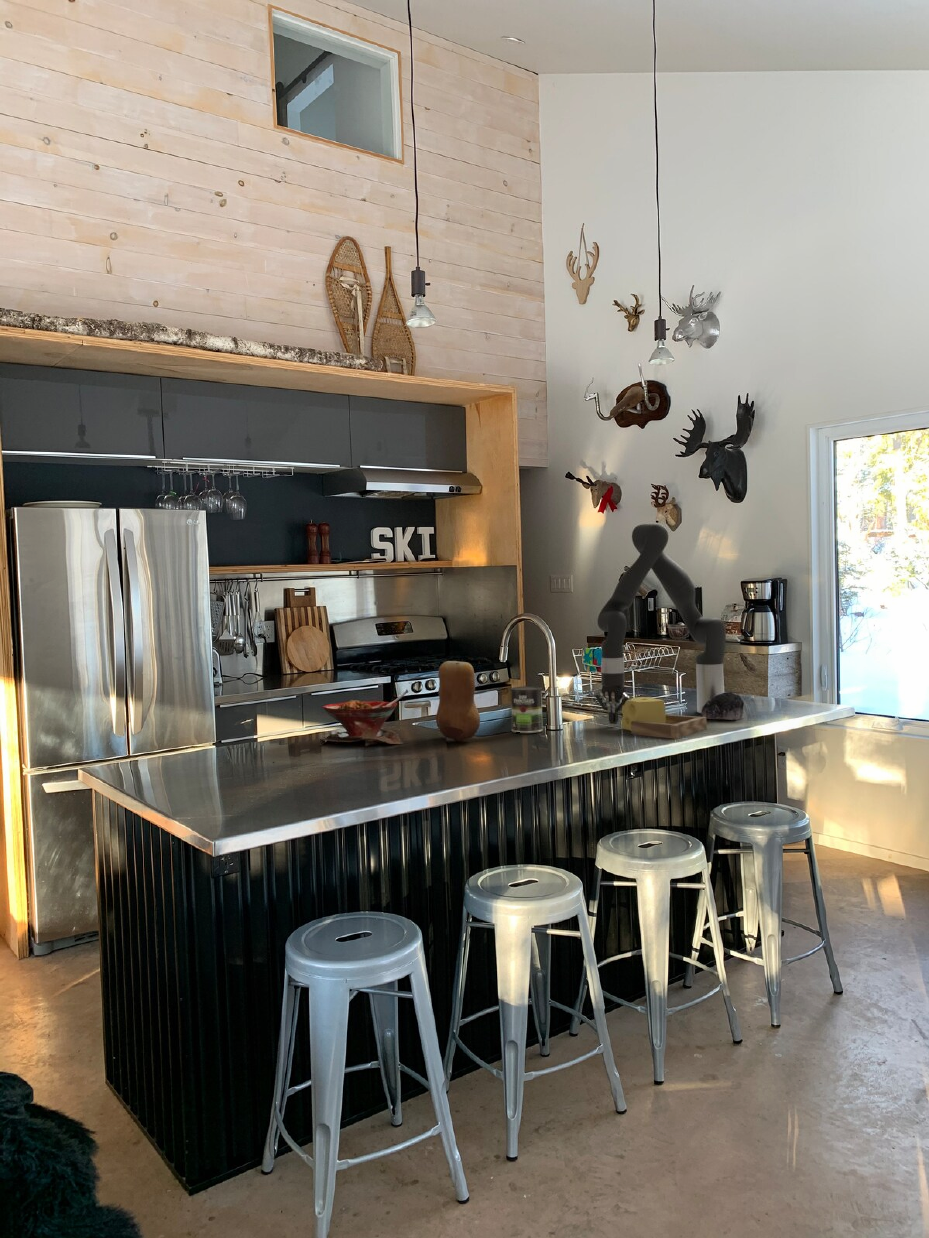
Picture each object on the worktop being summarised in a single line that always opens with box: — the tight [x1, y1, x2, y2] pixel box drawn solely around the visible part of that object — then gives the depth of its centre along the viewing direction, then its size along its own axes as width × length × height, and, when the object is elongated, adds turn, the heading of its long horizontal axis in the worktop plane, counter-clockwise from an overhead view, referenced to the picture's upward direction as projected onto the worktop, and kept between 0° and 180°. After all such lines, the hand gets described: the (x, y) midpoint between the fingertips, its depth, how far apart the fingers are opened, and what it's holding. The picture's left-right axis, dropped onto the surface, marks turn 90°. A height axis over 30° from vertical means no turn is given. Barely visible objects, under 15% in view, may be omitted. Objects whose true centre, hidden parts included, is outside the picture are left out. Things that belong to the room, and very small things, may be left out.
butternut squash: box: [435, 660, 481, 742], centre depth 300 cm, size 14×13×25 cm
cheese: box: [620, 696, 667, 732], centre depth 307 cm, size 10×11×10 cm
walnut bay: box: [630, 713, 707, 740], centre depth 301 cm, size 19×16×4 cm
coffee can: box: [509, 685, 544, 734], centre depth 313 cm, size 10×10×14 cm
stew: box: [319, 688, 409, 747], centre depth 302 cm, size 28×24×16 cm
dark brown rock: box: [701, 691, 745, 721], centre depth 321 cm, size 13×14×10 cm
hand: (613, 723), depth 315 cm, fingers closed
